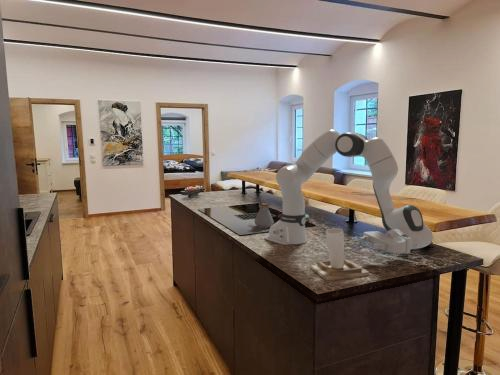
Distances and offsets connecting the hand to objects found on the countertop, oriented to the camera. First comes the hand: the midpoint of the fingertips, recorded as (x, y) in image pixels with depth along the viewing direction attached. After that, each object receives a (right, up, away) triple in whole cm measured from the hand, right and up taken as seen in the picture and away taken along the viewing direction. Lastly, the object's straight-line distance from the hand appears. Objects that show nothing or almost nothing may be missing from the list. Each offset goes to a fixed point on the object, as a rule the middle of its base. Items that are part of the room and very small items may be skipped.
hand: (366, 243), depth 145 cm
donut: (-15, +1, +84) cm, 86 cm away
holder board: (-11, -11, -2) cm, 16 cm away
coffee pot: (-39, 0, +75) cm, 85 cm away
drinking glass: (-12, -9, -1) cm, 15 cm away
